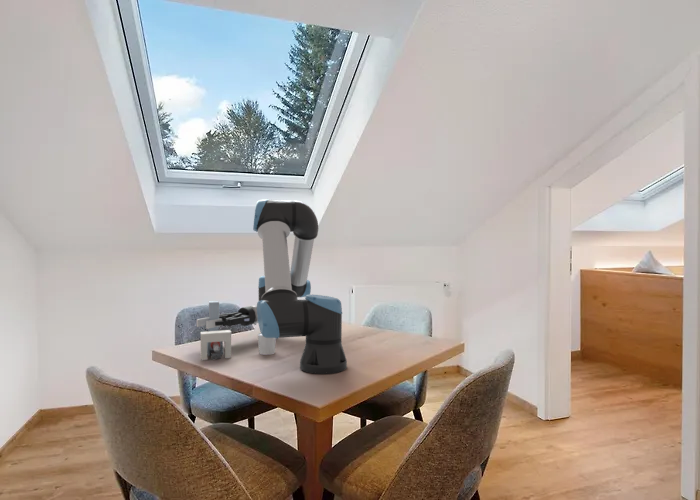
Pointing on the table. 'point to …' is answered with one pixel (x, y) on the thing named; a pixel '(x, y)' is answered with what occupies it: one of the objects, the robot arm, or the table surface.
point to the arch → (216, 337)
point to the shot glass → (266, 345)
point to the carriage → (212, 316)
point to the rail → (215, 355)
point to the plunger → (215, 346)
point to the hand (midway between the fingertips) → (202, 324)
